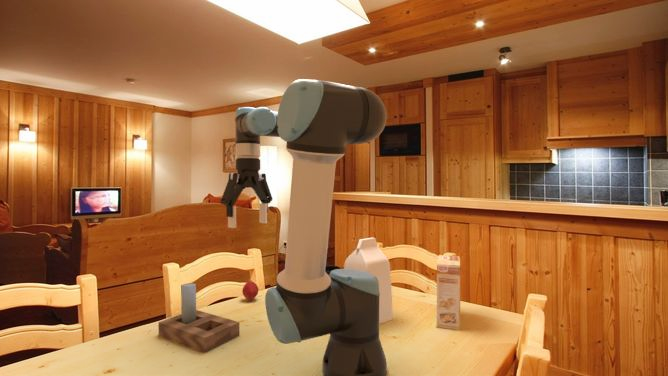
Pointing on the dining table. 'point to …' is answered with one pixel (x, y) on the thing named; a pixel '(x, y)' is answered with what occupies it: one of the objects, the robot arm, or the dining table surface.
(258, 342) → the dining table surface
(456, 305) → the coffeecake box
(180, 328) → the socket board
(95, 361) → the dining table surface
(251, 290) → the onion
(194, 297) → the peg
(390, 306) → the milk
